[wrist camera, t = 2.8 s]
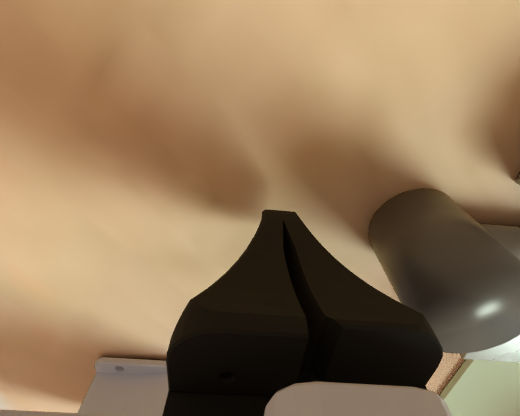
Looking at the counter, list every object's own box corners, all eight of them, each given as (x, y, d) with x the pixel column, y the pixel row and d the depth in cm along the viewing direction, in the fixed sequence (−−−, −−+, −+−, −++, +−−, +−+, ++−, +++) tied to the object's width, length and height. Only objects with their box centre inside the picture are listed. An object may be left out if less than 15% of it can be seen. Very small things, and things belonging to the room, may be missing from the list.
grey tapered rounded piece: (358, 257, 15) (398, 349, 11) (383, 184, 13) (445, 262, 9) (545, 272, 16) (655, 365, 11) (597, 204, 14) (756, 287, 9)
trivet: (429, 409, 22) (431, 415, 22) (472, 350, 19) (476, 356, 18) (532, 414, 23) (536, 420, 22) (593, 357, 19) (599, 363, 19)
